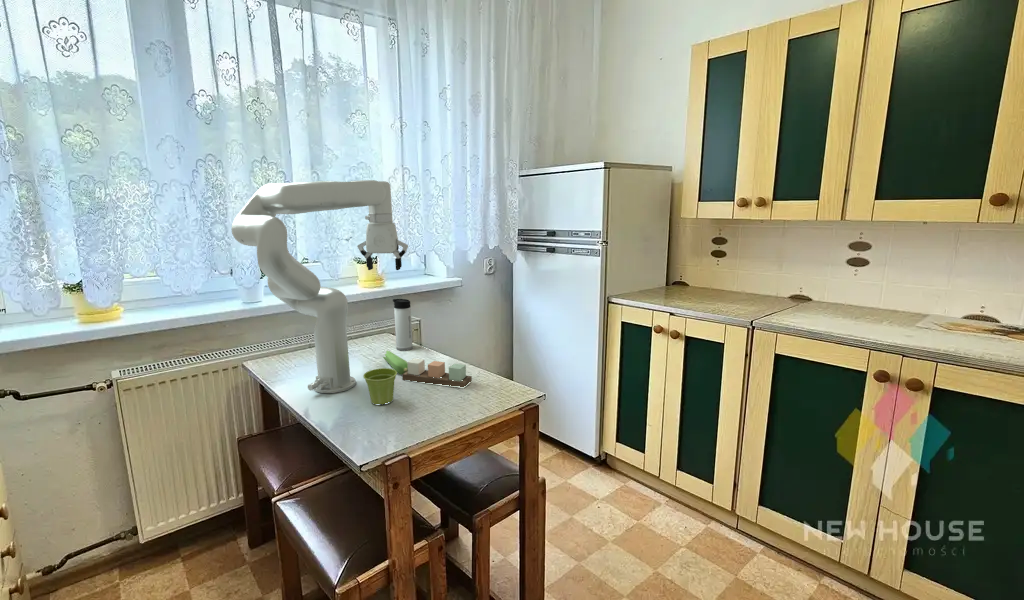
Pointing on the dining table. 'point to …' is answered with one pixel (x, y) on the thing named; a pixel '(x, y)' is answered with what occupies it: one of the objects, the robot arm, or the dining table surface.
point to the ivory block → (416, 366)
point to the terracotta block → (436, 369)
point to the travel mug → (403, 324)
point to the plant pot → (380, 384)
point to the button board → (436, 379)
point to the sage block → (457, 372)
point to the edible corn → (396, 362)
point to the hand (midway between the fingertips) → (384, 269)
